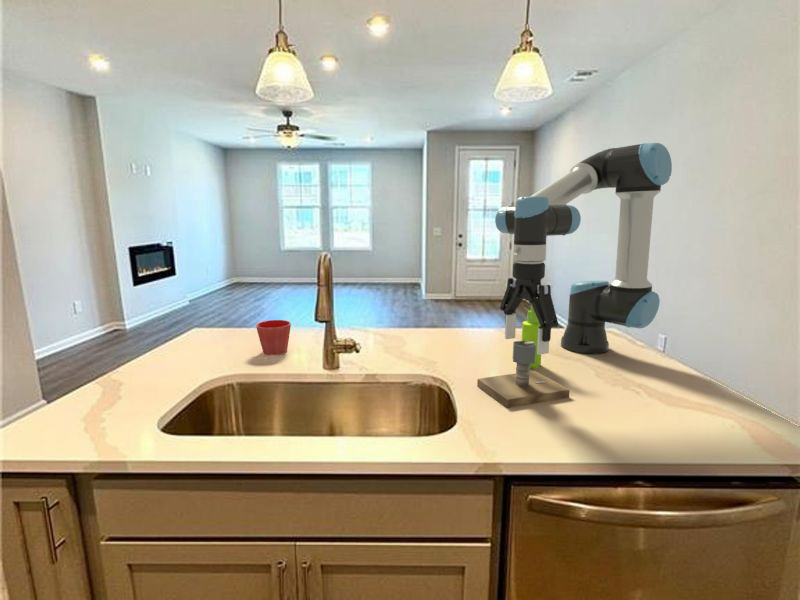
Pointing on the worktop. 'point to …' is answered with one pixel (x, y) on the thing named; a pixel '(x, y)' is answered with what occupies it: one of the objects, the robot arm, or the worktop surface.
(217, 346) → the worktop surface
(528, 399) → the wooden board with bolt
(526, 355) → the knob
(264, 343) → the flower pot
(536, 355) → the soap dispenser
